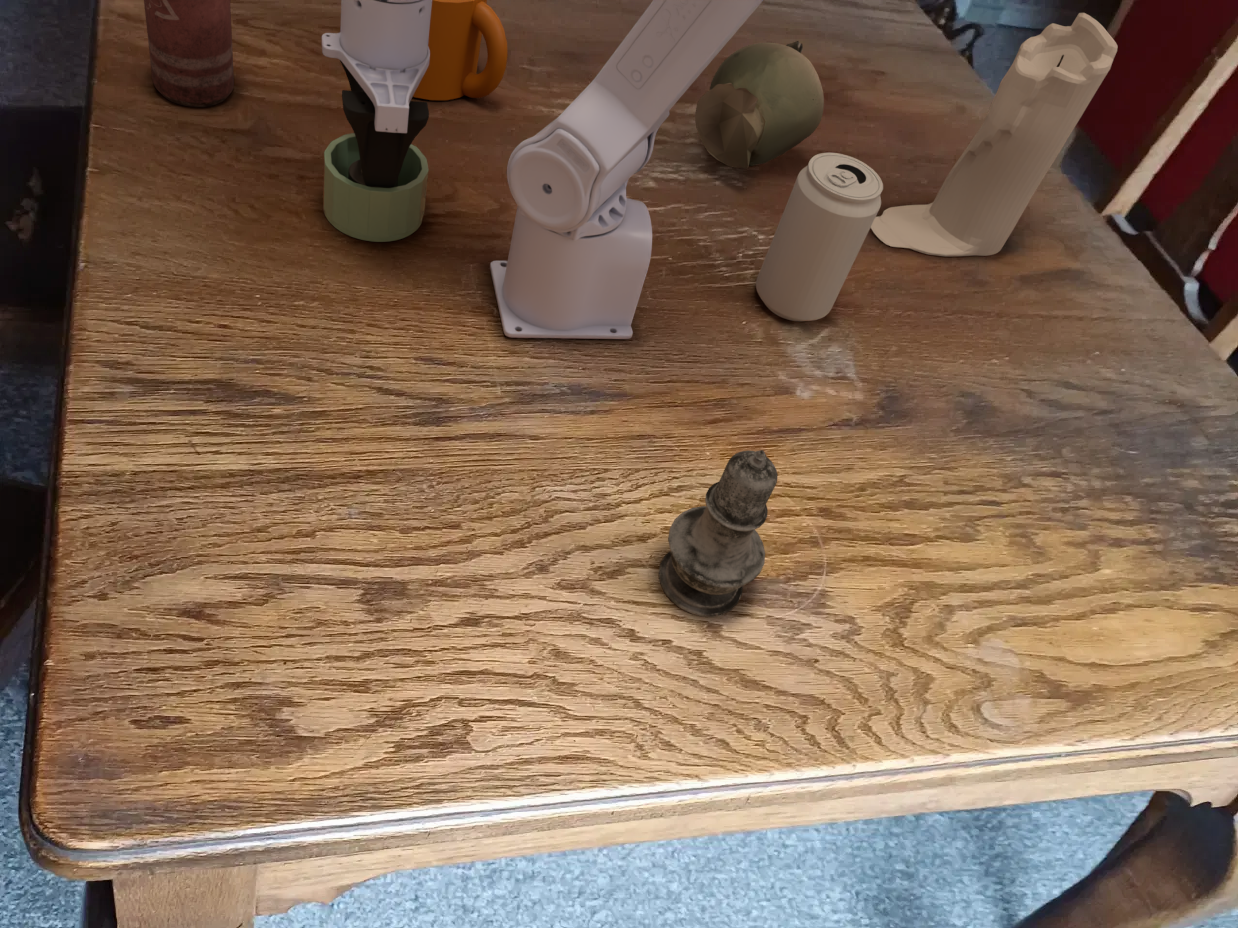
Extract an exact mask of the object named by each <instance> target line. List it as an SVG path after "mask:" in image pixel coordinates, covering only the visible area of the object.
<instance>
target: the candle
mask: <svg viewBox="0 0 1238 928" xmlns="http://www.w3.org/2000/svg"><path fill="white" fill-rule="evenodd" d="M1117 52H1118V44H1117V42H1116V41H1115V40H1114V38H1113V37H1112V35H1110V34H1109V32H1108V31H1107V30H1106V28H1105V26H1103V25H1102V24H1101V23H1100V22H1099V21H1098V20H1097V19H1095V18H1094V17H1092V16H1091V15H1089V14H1087V13H1085V12H1079V13H1078V14H1077V16H1076V17H1075V19H1074V20H1073V22H1072V24H1071V25H1067V26H1064V25H1061V24H1057V23H1053V22H1052V23H1050V24H1048V25H1047V26H1046V27H1044V29H1043V30H1042V31H1041V33H1040V34H1037V35H1036V36H1031V37H1029V38H1027V39H1026V40H1025V41H1023V42H1022V43H1021V44H1020V46H1019V48H1018V51H1017V53H1016V56H1015V58H1014V59H1013V62H1012V64H1011V65H1010V67H1009V68H1008V70H1007V72H1006V73H1005V75H1004V76H1003V77H1002V79H1001V80H1000V83H999V85H998V88H997V90H996V93H995V95H994V97H993V98H992V101H991V104H990V106H989V108H988V111H987V113H986V115H985V118H984V120H983V122H982V124H981V126H980V128H979V129H978V130H977V132H976V133H975V135H973V137H972V138H971V140H970V142H969V143H968V145H967V147H966V148H965V149H964V150H963V152H962V154H961V155H960V156H959V158H958V159H957V160H956V162H955V163H954V165H953V167H952V168H951V169H950V171H949V172H948V174H947V176H946V177H945V179H944V181H943V183H942V184H941V186H940V189H939V190H938V192H937V194H936V196H935V197H934V199H933V201H932V202H930V203H928V204H909V205H900V206H891V207H888V208H886V209H885V210H883V212H882V214H881V215H879V216H876V217H875V219H874V221H873V223H872V225H871V227H870V229H871V231H872V232H873V234H874V235H875V236H876V237H877V238H878V239H879V240H880V241H881V242H883V244H885V245H887V246H890V247H893V248H904V249H910V250H913V251H915V252H917V253H918V252H919V253H922V254H926V255H928V256H929V255H930V256H937V257H969V256H985V257H987V256H993V255H996V254H998V253H999V252H1001V251H1002V249H1003V247H1004V245H1005V244H1006V242H1007V240H1008V239H1009V237H1010V236H1011V234H1012V233H1013V231H1014V229H1015V228H1016V225H1017V224H1018V222H1019V220H1020V219H1021V217H1022V215H1023V213H1024V211H1025V210H1026V208H1027V206H1028V204H1029V203H1030V201H1031V200H1032V198H1033V196H1034V194H1035V193H1036V191H1037V189H1038V188H1039V186H1040V184H1041V183H1042V181H1043V179H1044V178H1045V176H1046V175H1047V173H1048V172H1049V170H1050V169H1051V167H1052V166H1053V164H1054V163H1055V161H1056V159H1057V157H1058V156H1059V154H1060V153H1061V151H1062V150H1063V148H1064V146H1065V144H1066V142H1067V141H1068V139H1069V138H1070V136H1071V134H1072V132H1073V131H1074V129H1075V128H1076V126H1077V124H1078V123H1079V121H1080V119H1081V118H1082V116H1083V114H1084V113H1085V111H1086V110H1087V108H1088V106H1089V105H1090V103H1091V101H1092V99H1093V98H1094V96H1095V94H1096V93H1097V91H1098V89H1099V88H1100V86H1101V85H1102V83H1103V81H1104V79H1106V76H1107V75H1108V73H1109V72H1110V70H1111V68H1112V64H1113V62H1114V59H1115V57H1116V54H1117Z"/></svg>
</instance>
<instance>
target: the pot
mask: <svg viewBox="0 0 1238 928" xmlns="http://www.w3.org/2000/svg"><path fill="white" fill-rule="evenodd" d="M357 160H360V155H359V148H358V143H357V139H356V136H355V133H354V132H351V133H345V134H343V135H341V136H339V137H337V138H335V139H333V140H331V141H330V143H329V144H328V145H327V147H326V149H325V150H324V151H323V173H322V175H323V176H322V179H323V180H322V202H323V203H322V204H323V205H322V210H323V213H324V216H325V218H326V220H327V221H328V222H329V224H331V225H332V226H333V227H334V228H335V229H336V230H338V231H339V232H341V233H342V234H345V235H347V236H349V237H351V238H354V239H357V240H362V241H367V242H372V243H374V242H375V243H386V242H387V243H388V242H394V241H398V240H401V239H405V238H408V237H410V236H411V235H412V234H413V233H415V232H416V231H417V230H418V229H419V228H420V227H421V225H422V223H423V220H424V216H425V209H426V200H427V190H428V181H429V172H430V169H429V164H428V159H427V157H426V156H425V154H424V153H423V152H422V151H421V150H420V148H419V147H417V146H416V145H414V144H412V143H411V145H410V147H409V149H408V151H407V154H406V156H405V159H404V162H403V165H402V168H401V171H400V174H399V176H398V187H393V188H377V187H369V186H365V185H362V184H358V183H355V182H352V181H351V180H349V179H348V170H349V167H350V165H351V164H352V163H353V162H355V161H357Z"/></svg>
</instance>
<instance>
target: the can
mask: <svg viewBox="0 0 1238 928" xmlns="http://www.w3.org/2000/svg"><path fill="white" fill-rule="evenodd" d="M143 4H144V5H143V6H144V15H145V24H146V32H147V33H146V34H147V41H148V42H147V43H148V44H147V45H148V52H149V62H150V70H151V80H152V84H153V85H154V87H155V89H156V90H157V91H158V93H160V94H161V95H162V96H163V97H164V99H167V100H168V101H170V102H172V103H174V104H177V105H181V106H184V107H191V108H205V107H206V108H207V107H212V106H215V105H218V104H220V103H222V102H225V100H226V99H227V98H228V97H229V96H230V94H231V93H232V92H233V90H234V85H235V74H234V56H233V55H234V54H233V52H234V51H233V32H232V29H233V28H232V8H231V0H143Z"/></svg>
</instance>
